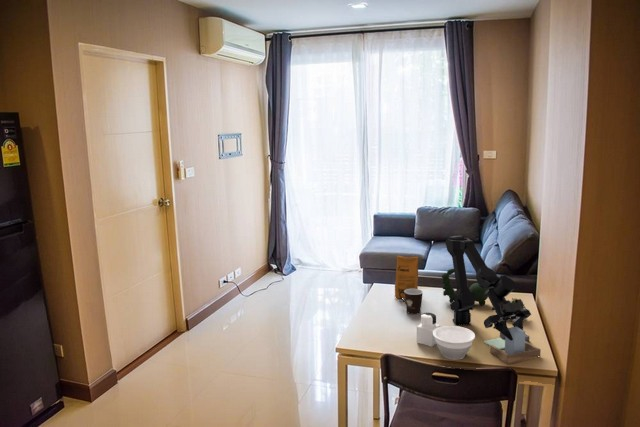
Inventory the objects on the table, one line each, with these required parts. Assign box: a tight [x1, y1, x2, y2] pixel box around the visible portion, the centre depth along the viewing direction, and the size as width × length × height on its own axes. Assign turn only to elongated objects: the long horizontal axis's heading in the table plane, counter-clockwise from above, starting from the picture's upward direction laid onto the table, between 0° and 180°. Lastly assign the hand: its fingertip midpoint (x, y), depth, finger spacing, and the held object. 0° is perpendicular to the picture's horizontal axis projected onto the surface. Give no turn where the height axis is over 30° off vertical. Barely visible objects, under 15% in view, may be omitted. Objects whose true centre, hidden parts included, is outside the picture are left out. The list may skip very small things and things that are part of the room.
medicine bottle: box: [416, 312, 441, 348], centre depth 202 cm, size 7×7×12 cm
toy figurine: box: [441, 268, 494, 306], centre depth 242 cm, size 9×19×25 cm
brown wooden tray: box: [489, 341, 542, 365], centre depth 189 cm, size 10×15×3 cm
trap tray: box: [499, 332, 530, 342], centre depth 203 cm, size 8×8×2 cm
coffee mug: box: [399, 288, 424, 315], centre depth 237 cm, size 12×9×10 cm
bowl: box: [433, 325, 476, 361], centre depth 191 cm, size 16×16×8 cm
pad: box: [483, 337, 505, 350], centre depth 199 cm, size 8×8×1 cm
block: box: [504, 326, 526, 355], centre depth 189 cm, size 5×5×10 cm
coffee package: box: [394, 255, 419, 300], centre depth 255 cm, size 10×12×22 cm
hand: (517, 339), depth 187 cm, fingers closed on block, 5 cm apart
